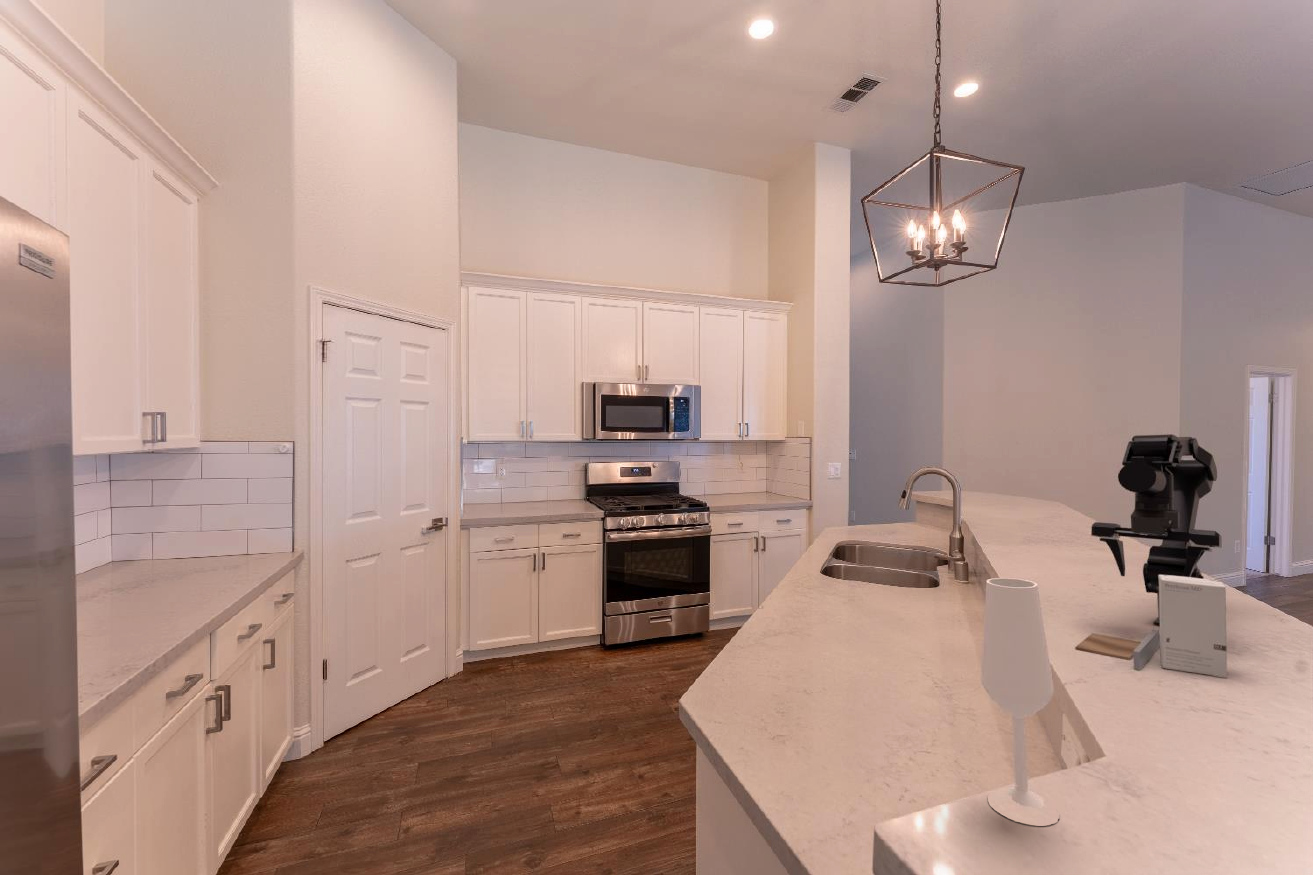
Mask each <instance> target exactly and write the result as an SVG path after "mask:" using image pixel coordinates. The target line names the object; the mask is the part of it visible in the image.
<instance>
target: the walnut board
mask: <svg viewBox="0 0 1313 875" xmlns="http://www.w3.org/2000/svg"><path fill="white" fill-rule="evenodd" d="M1141 642H1142V641H1138V640H1132V639H1127V638H1120V637H1114V636H1110V635H1103V634H1098V633H1090V634H1089V635H1088V636H1087V637H1086V638H1085V639H1083V640H1082V641H1080V643H1078V644H1077V645H1076V646H1075V647H1074V649H1075V650H1078V651H1083V652H1087V653H1088V652H1089V653H1093V654H1099V655H1103V656H1108V657H1113V658H1119V659H1123V660H1128V661H1130V660H1131V659H1133V651H1134V650H1135V648H1136V647H1137V646H1138V645H1139V644H1140V643H1141Z"/></svg>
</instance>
